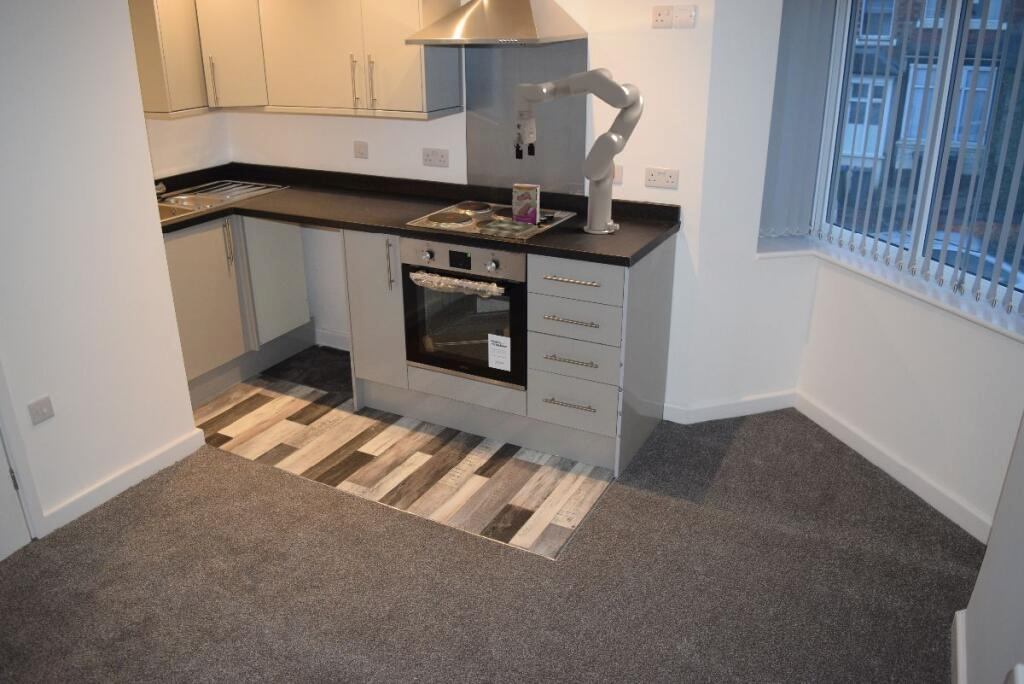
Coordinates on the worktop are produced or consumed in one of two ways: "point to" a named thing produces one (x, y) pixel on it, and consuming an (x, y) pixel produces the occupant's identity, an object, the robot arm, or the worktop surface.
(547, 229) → the worktop surface
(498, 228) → the foundation plinth
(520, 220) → the candy bar box
